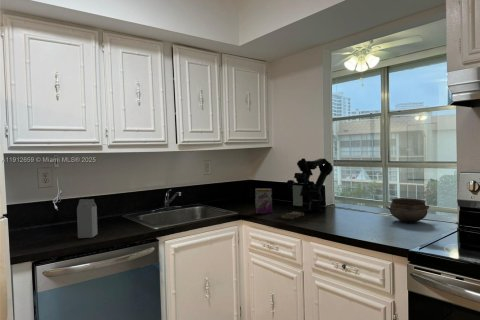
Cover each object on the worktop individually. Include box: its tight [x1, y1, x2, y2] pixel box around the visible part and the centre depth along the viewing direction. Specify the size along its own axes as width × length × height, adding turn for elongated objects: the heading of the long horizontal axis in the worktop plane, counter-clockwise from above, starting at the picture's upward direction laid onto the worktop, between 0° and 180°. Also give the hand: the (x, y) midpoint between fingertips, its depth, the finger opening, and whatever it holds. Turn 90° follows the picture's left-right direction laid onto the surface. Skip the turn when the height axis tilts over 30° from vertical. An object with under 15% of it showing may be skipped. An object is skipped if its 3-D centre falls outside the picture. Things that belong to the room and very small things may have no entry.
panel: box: [292, 185, 303, 207], centre depth 202 cm, size 2×6×12 cm, turn 49°
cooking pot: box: [386, 197, 430, 224], centre depth 181 cm, size 25×19×12 cm
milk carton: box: [76, 198, 98, 239], centre depth 164 cm, size 7×7×19 cm
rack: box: [281, 211, 305, 220], centre depth 198 cm, size 13×8×2 cm, turn 138°
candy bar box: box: [254, 188, 273, 215], centre depth 214 cm, size 11×5×16 cm, turn 84°
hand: (296, 195), depth 201 cm, fingers closed on panel, 5 cm apart
